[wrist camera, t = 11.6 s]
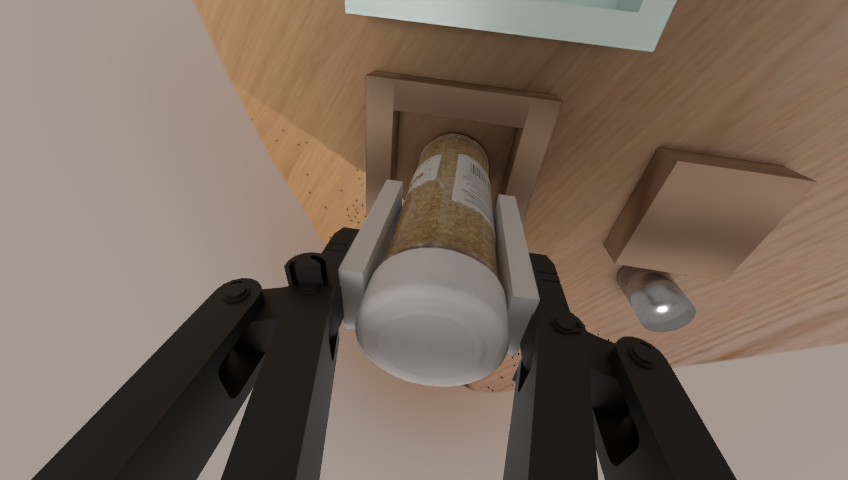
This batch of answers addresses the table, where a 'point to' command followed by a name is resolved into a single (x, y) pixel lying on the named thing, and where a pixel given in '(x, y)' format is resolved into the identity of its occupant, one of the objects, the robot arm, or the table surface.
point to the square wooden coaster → (702, 213)
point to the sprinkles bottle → (439, 276)
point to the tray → (537, 18)
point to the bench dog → (655, 298)
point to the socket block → (464, 103)
